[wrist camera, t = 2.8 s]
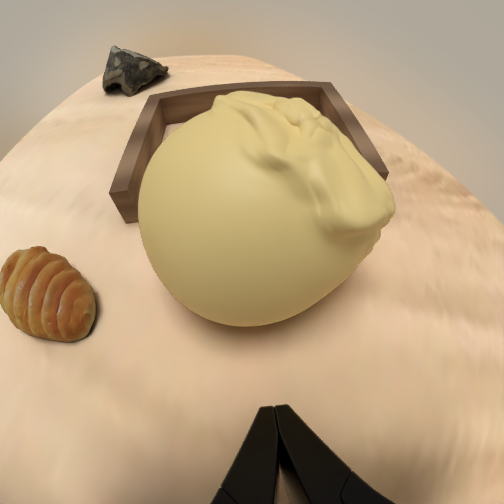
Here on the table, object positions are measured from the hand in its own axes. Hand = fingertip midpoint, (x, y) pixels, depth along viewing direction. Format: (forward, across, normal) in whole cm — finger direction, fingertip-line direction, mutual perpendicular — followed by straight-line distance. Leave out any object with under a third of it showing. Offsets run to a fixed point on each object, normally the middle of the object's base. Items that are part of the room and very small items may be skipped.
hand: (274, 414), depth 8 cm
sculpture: (+12, 0, -2) cm, 12 cm away
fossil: (+37, +15, -26) cm, 48 cm away
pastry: (+11, +16, 0) cm, 19 cm away
